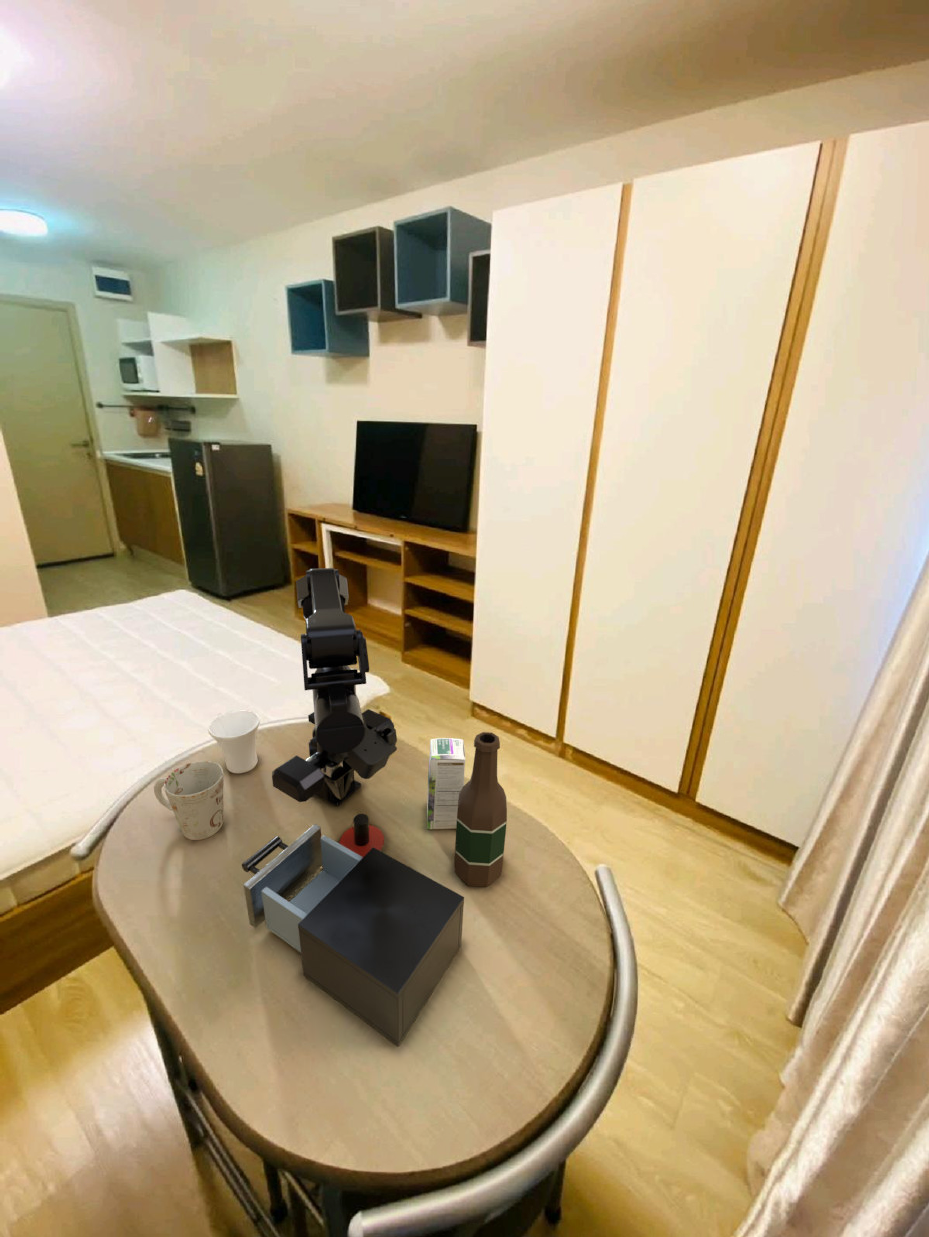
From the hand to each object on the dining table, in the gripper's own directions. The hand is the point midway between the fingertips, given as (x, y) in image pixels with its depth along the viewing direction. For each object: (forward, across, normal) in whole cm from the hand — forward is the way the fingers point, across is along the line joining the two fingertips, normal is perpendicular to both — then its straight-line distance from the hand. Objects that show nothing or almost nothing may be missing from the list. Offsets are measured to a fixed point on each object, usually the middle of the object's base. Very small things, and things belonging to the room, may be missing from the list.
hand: (340, 797), depth 78 cm
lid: (+11, +3, -1) cm, 11 cm away
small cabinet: (+11, -10, -17) cm, 22 cm away
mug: (+11, -10, +24) cm, 29 cm away
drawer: (+10, -10, -3) cm, 15 cm away
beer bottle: (+11, +10, -19) cm, 24 cm away
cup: (+11, +4, +31) cm, 33 cm away
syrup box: (+11, +15, -9) cm, 21 cm away
